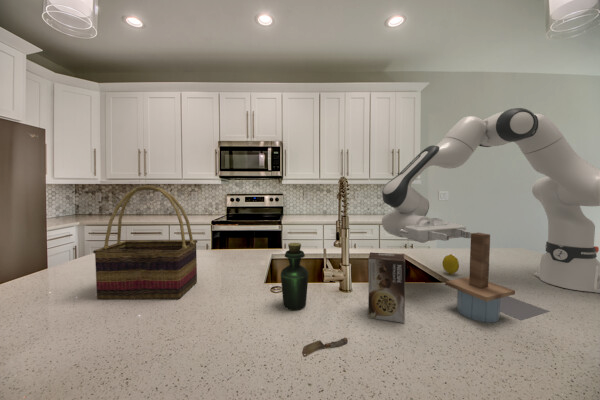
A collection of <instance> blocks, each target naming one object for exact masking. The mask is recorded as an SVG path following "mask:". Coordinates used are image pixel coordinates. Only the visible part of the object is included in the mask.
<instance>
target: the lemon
mask: <svg viewBox="0 0 600 400" xmlns="http://www.w3.org/2000/svg"><path fill="white" fill-rule="evenodd" d="M442 268H443V270H444V271H445V272H446V273H448V274H449V275H452V274H455V273H457V272H458V271H459V268H460V261H459V260H458V258H457V257H456V256H455V255H454V254H449V255H446V256H444V257H443V259H442Z"/></svg>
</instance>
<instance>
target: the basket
mask: <svg viewBox="0 0 600 400" xmlns="http://www.w3.org/2000/svg"><path fill="white" fill-rule="evenodd" d="M141 191H153V192H159V193H160V194H161V195H163V196H164V197H165V198H166V199H167V200H168V201H169V202H170V204H171V206H172V207H173V209H174V210H175V213H176V214H175V215H176V216H177V220H178V223H179V227H180V239H181V240H179V239H178V240H177V239H176V240H175V239H173V240H123V241H122V240H121V238H122V237H121V236H122V235H121V234H122V222H123V220H122V219H123V218H124V217H123V216H124V214H125V210H126V206H127V205H128V203H129V202H130V200H131V198H132V197H133V196H134V195H136V193H137V192H141ZM120 208H121V210H120ZM119 210H120V212H119ZM180 211H181V213H180ZM118 212H119V217H118V219H117V221H118V222H117V237H116V238H117V239H116V240H117V241H116V243H114V244H113V243H112V244H110V245H109V240H110V237H111V231H112V227H113V226H112V225H113V223H114V222H113V221H114V219H115V217H116V216H117V213H118ZM181 214H182V216H183V218H184V221H185V223H186V228H187V233H188V237H189V239H186V237H185V228H184V223H183V220H182V216H181ZM197 243H198V239H193V233H192V229H191V224H190V220H189V218H188V215H187V212H186V211H185V209H184V208H183V206H182V205H181V204H180V203H179V202H178V200H177V199H176V197H174V195H172V194H170V193H169V192H167V191H166V190H164V189H163V188H161V187H158V186H155V185H145V184H144V185H139V186H136V187H134V188H133V189H132V190H130V191H129V192H127V193H126V194H125V195H124V196H123V198H121V200H120V201H119V202H118V203H117V204H116V206H115V208H114V210H113V213H112V214H111V216H110V218H109V220H108V224H107V229H106V232H105V239H104V245H103V247H100V248H98V249H94V250H93V251H92V253H93V254H94V258H95V259H94V260H95V261H94V262H95V278H96V279H95V280H96V282H95V283H96V298H97V300H180V299H181V298H182V297H183V296H184V295H185V294H186V293H187V292H188V291H190V290H191V288H193V287H194V286H195V285H196V284H197V282H198V270H197V268H198V267H197V266H198V264H197V258H198V257H197Z"/></svg>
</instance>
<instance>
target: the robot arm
mask: <svg viewBox="0 0 600 400" xmlns="http://www.w3.org/2000/svg"><path fill="white" fill-rule="evenodd" d="M511 143H515V144H516V145H518V148H519V149H520V151H521V153H522V155H523V156H524V157H525V158H526V160H527V161H528V163H529V164H530V165H531V167H532V168H533V170H535V172H537V173H539V174H542V175H544V176H543V177H541V178H538V179H537V180H536V181H535V182H534V183H533V185H532V191H531V192H532V195H533V197H534V198H535V199H536V200H537V201H539V202H540V203H541V206H542V207H543V209H544V211H545V215H546V217H547V223H548V224H547V226H548V227H547V231H548V232H547V241H545V242H546V243H545V253H544V254H542V255H541V256H540V260H539V268H538V271H535V272H534V277H537V278H539V280H540V281H543V282H544V283H546V284H549V285H552V286H554V287H558V288H559V287H560V288H564V289H567V290H572V291H579V292H580V291H581V292H589V293H597V294H600V261H599V260H598V259H597V256H598V255H597V253H598V252H599V250H600V249H599V246H596V245H595V237H596V236H595V235H596V225H595V223H594V222H593V220H591V219H590V218H588V217H587V216H586V215H585V214H584V212H583V210H582V208H581V207H600V169H599V168H597V167H595V166H594V165H592V164H591V163H589V162H588V161H587V160H585V159H584V158H582V156H580V155H579V154H578V153H577V152H576V151H575V149H573V147H572V146H571V145H570V143H569V141H567V139H566V138H565V136H564V135H563V133H562V132H561V130H560V129H559V128H558V126H556V125H555V124H554V123H553V121H551V120H550V118H548V117H547V116H546V115H544V114H542V113H533V112H532V111H531V110H529V109H527V108H523V107H516V108H510V109H507V110H504V111H501V112H500V111H499V112H497V113H494V114H492V115H491V116H489V117H486V118H483V119H481V118H480V117H478V116H474V115H469V116H464V117H462V118H460V120H459V121H457V122H456V123H455V124H454V125H453V126H452V127H451V128H450V129H449V131H448V132H447V133H446V134H445V135H444V136H443V138H442V139H441V140H440V141H439V142H438V143H436V144H435V145H429V146H427V147H425V148H424V149H423V150H422V151H420V153H419V154H417V155H416V156H415V157H414V158H413V159H412V160H411V161H410V162H409V163H408V164H407V165H406V166H405V167H404V168H403V169H402V170H401V171H400V172H399V173H398V174H397V175H396V176H394V177H393V178H392V179H391V180H389V181H388V182H386V184H385V185H384V186H383V188H382V192H381V193H382V195H381V196H382V201H383V203H384V204H386V205H388V206H390V207H391V208H393V209H394V210H392V211H391V212H388V213H385V214H384V215H383V217H382V219H381V225H382V228H383V230H384V231H385V232H386V233H388V234H389V235H392V236H395V237H398V238H402V239H407V240H409V241H414V242H417V243H423V244H424V243H427V242H429V241H439V240H440V241H444V242H445V241H449V240H450V239H459V238H463V239H471V233H473V232H471V231H468V230H466V229H467V228H466V226H464V224H463V225H462V224H459V223H455V222H450V221H443V218H435V217H434V218H433V217H429V216H427V214H428V212H429V209H430V202H429V200H428V199H427V198H426V197H425V196H424V195H422V194H421V193H420V192H418V191H417V190H415V189H414V187H412V183H413V182H414V181H416V179H417V178H418V177H419V176H420V175H421V174H422V173H423V172H424V171H426V170H427V169H428V168H429V167H432V166H435V167H439V168H444V169H456V168H459V167H461V166H463V165H464V164H465V163H466V162H467V161H468V160H469V159H470V158H471V156H472V155H473V153H474V152H475V151H476V150H477V149H478V147H482V148H490V147H498V146H504V145H507V144H511Z"/></svg>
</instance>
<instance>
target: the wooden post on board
mask: <svg viewBox="0 0 600 400" xmlns="http://www.w3.org/2000/svg"><path fill="white" fill-rule="evenodd" d="M490 248H491V234H489V233H483V232H472V233H471V238H470V249H469V250H470V252H469V255H470V256H469V276H467V277H460V278H456V279H449V280H444V285H445V286H447V287H450V288H452V289H455V290H459V291H462V292H464V293H467V294H469V295H472V296H474V297H476V298H479V299H481V300H484V301H486V302H487V301H491V300H495V299H499V298H503V297H507V296H509V297H511V296H514V295H516V290H514V289H511V288H510V287H509V288H508V287H505V286H503V285H499V284H497V283H494V282H490V281H489V278H490V277H489V276H490V275H489V273H490V272H489V271H490V253H491V252H490V250H491V249H490Z"/></svg>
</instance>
